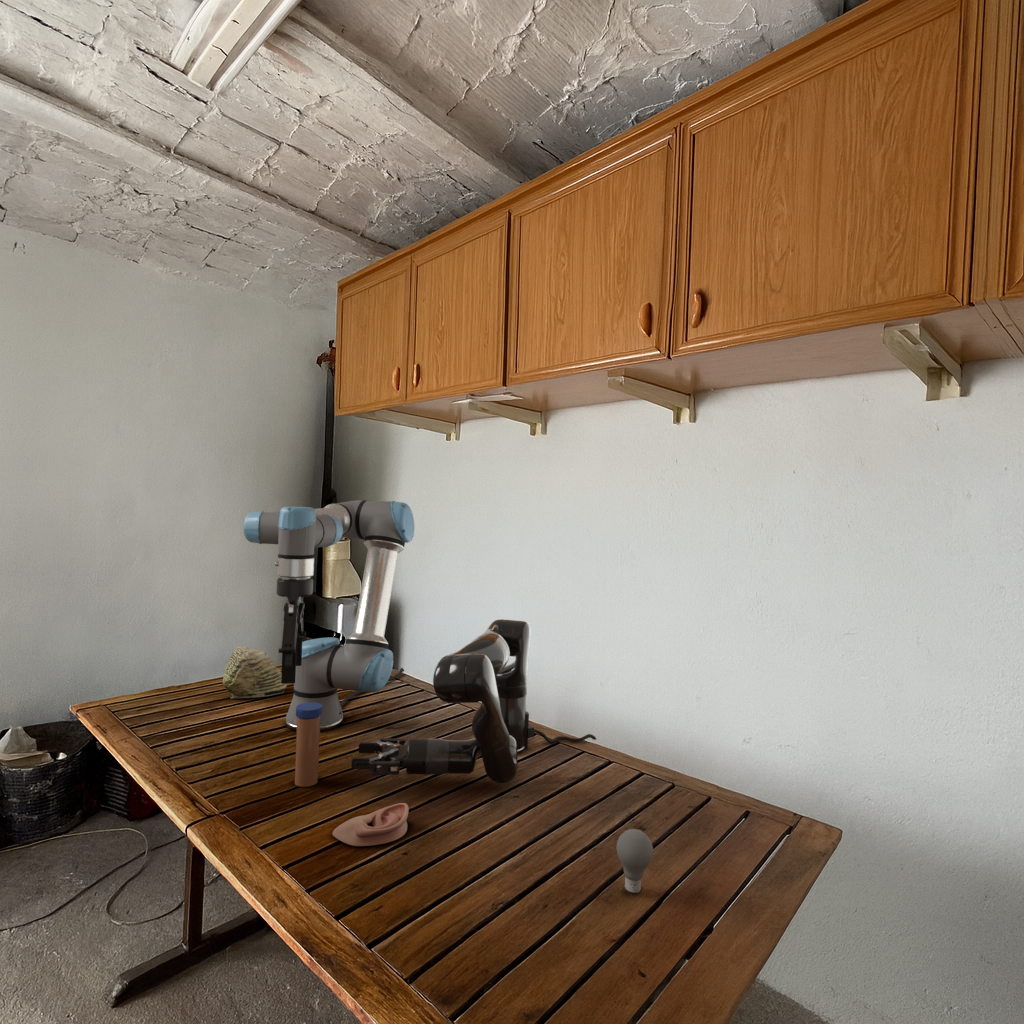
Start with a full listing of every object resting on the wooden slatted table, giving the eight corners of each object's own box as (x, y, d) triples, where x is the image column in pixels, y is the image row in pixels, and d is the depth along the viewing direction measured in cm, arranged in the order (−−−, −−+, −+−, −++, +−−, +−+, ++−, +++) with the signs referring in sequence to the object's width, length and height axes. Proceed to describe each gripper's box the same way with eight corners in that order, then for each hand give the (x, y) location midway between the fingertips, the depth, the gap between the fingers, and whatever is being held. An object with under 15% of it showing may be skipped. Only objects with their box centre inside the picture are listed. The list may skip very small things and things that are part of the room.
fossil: (218, 695, 195) (220, 647, 195) (278, 685, 208) (279, 640, 207) (228, 703, 189) (230, 653, 188) (289, 692, 201) (290, 645, 201)
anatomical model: (325, 820, 116) (352, 792, 127) (324, 841, 116) (352, 812, 128) (392, 830, 114) (415, 801, 125) (392, 852, 114) (414, 821, 125)
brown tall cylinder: (320, 777, 143) (323, 705, 142) (313, 787, 138) (316, 712, 138) (299, 776, 143) (302, 704, 143) (291, 786, 138) (293, 711, 138)
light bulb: (610, 879, 108) (613, 822, 108) (644, 879, 109) (647, 822, 109) (619, 902, 102) (622, 840, 102) (655, 901, 103) (658, 840, 103)
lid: (325, 711, 143) (325, 703, 143) (316, 719, 137) (317, 711, 137) (301, 710, 143) (301, 701, 143) (292, 718, 137) (292, 709, 137)
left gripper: (284, 570, 149) (281, 659, 150) (268, 585, 125) (265, 691, 126) (317, 570, 151) (314, 658, 152) (308, 585, 127) (304, 690, 127)
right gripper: (431, 728, 149) (361, 726, 148) (427, 752, 135) (350, 751, 134) (429, 759, 149) (360, 758, 148) (425, 787, 135) (348, 786, 134)
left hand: (291, 674), depth 139 cm, fingers open, 13 cm apart
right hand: (355, 755), depth 141 cm, fingers open, 8 cm apart
